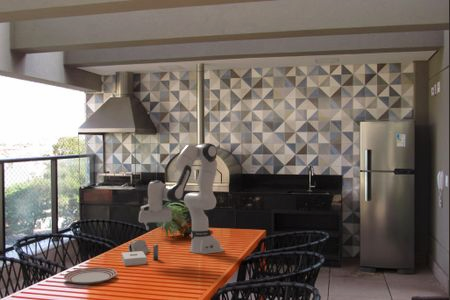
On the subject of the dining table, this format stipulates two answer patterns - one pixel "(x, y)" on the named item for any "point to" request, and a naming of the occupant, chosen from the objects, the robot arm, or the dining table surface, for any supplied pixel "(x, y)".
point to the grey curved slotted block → (138, 246)
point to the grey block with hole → (134, 258)
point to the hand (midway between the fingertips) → (155, 229)
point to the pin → (155, 252)
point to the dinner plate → (90, 275)
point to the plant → (177, 221)
